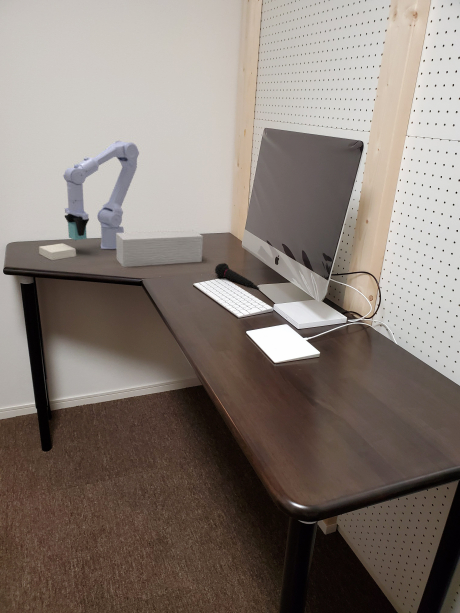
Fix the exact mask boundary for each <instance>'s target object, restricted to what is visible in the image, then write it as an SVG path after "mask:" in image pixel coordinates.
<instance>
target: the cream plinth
mask: <svg viewBox="0 0 460 613" xmlns="http://www.w3.org/2000/svg"><path fill="white" fill-rule="evenodd" d="M76 250H77V249H76V248H74V247H72V246H70V245H67V244H65V243H62V242H61V243H56V244H50V245H49V244H47V245H43V246H42V245H40V246H38V253H39V255H41V256H42V257H44V258H46V259H49V260H50V261H55V260H56V261H57V260H60V259H68V258H74V257H77V251H76Z"/></svg>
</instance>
